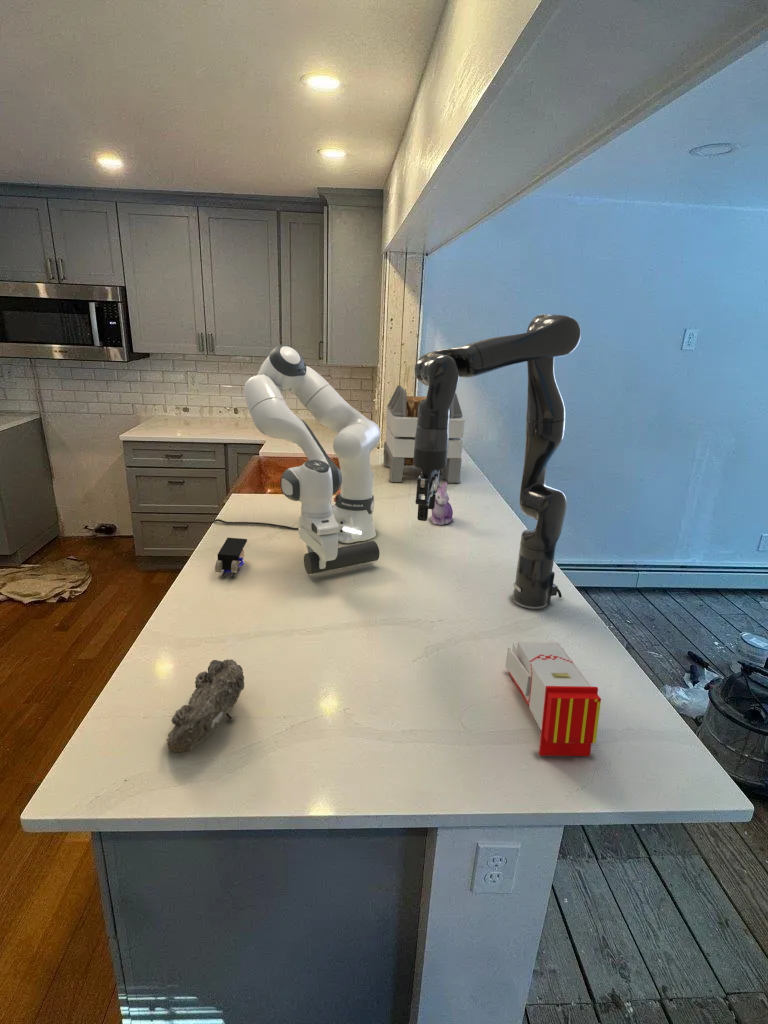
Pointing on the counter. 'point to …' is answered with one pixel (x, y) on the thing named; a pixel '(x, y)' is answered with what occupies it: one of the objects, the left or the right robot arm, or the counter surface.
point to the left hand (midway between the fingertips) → (316, 562)
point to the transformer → (403, 436)
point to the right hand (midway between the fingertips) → (426, 514)
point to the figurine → (442, 507)
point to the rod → (344, 557)
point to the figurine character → (230, 556)
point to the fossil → (206, 705)
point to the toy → (556, 697)
